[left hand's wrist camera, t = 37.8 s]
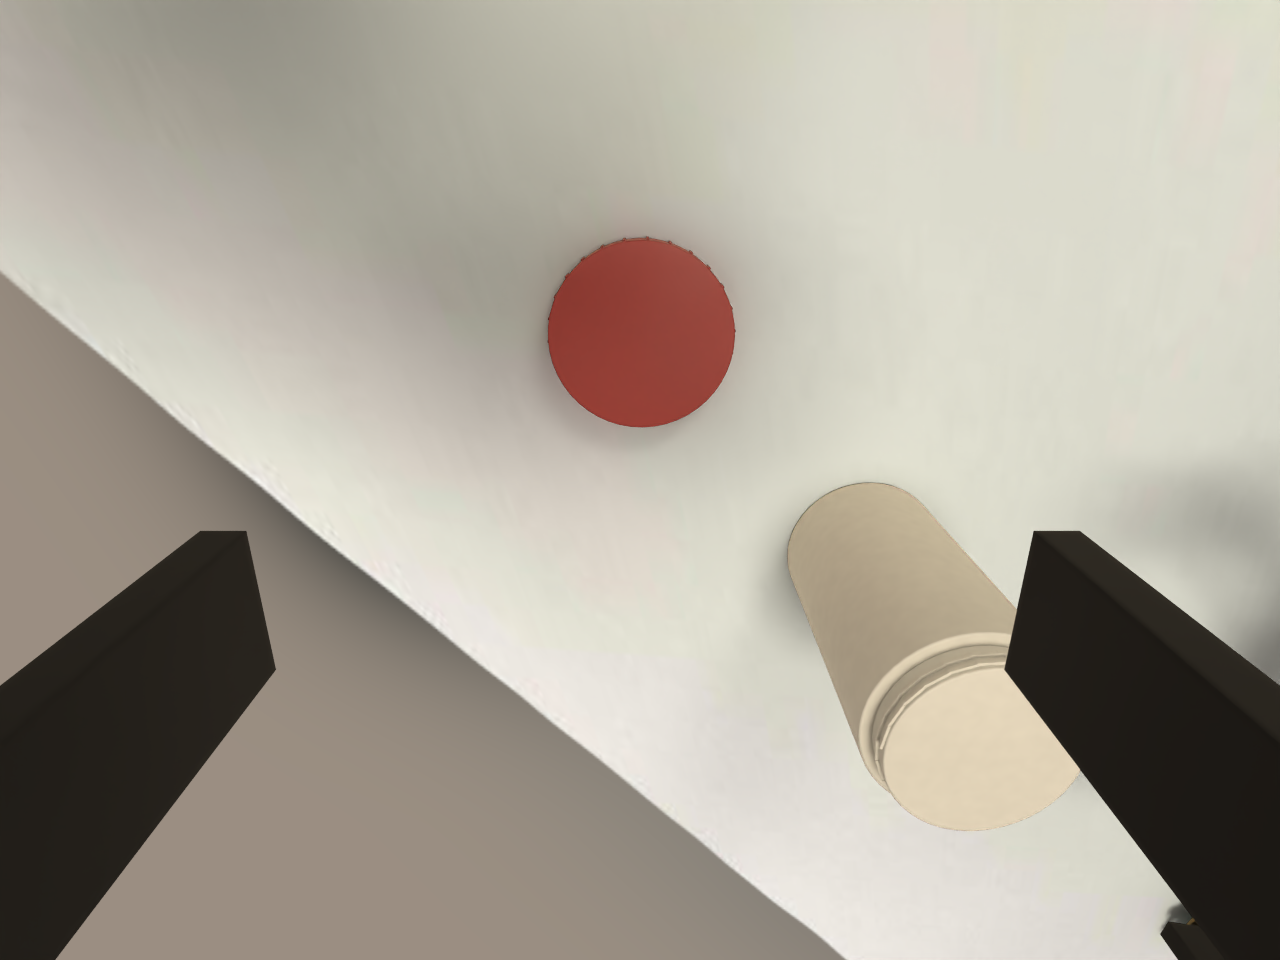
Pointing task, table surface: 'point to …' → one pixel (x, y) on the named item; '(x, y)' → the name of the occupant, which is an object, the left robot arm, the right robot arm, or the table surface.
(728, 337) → the lid
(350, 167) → the table surface
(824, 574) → the jar
